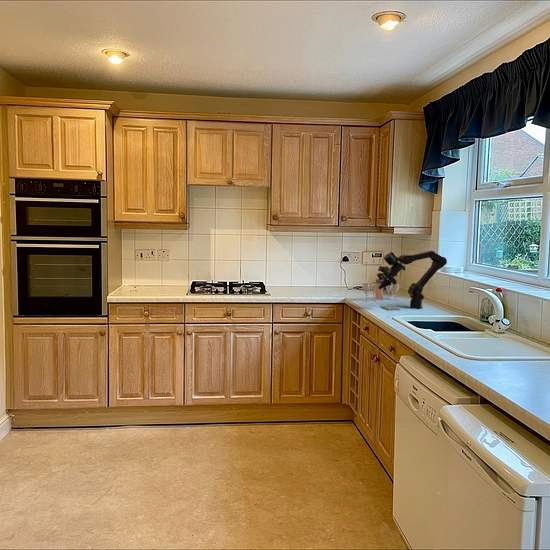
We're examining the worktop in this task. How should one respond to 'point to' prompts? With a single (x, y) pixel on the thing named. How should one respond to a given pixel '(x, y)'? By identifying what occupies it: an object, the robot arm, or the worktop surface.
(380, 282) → the spice jar
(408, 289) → the robot arm
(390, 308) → the slate board
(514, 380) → the worktop surface
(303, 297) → the worktop surface
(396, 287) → the goblet set
